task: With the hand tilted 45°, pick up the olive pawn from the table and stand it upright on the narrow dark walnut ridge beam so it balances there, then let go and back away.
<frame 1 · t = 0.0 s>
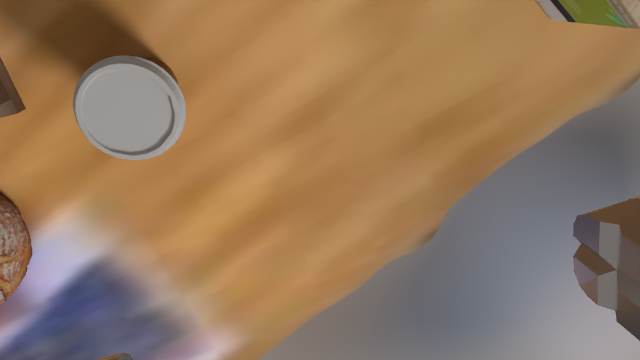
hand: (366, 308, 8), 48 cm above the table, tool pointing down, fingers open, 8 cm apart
disposable coffee cup: (149, 86, 52), on the table
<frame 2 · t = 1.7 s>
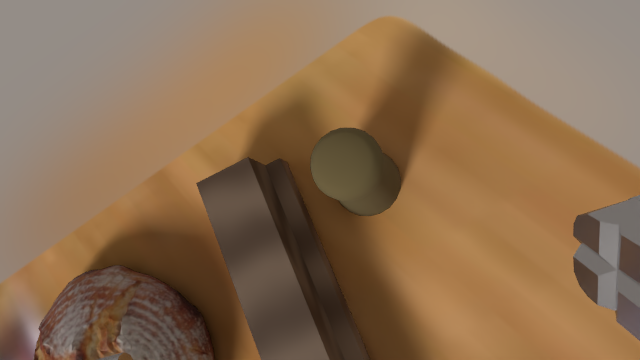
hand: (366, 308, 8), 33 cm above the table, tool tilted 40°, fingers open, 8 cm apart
ridge stand: (301, 311, 42), on the table
olive pawn: (367, 182, 42), on the table
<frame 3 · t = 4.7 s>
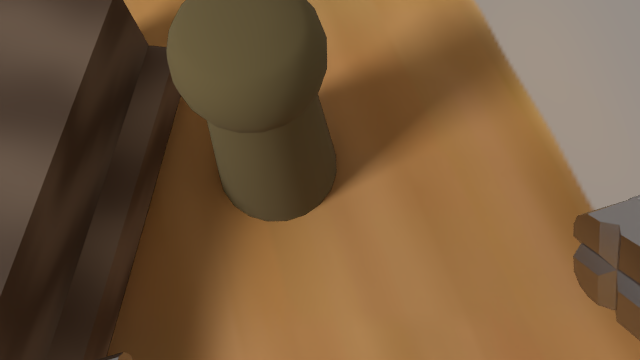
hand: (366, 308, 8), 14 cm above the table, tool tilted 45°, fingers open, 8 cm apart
ridge stand: (37, 295, 22), on the table
olive pawn: (278, 166, 24), on the table
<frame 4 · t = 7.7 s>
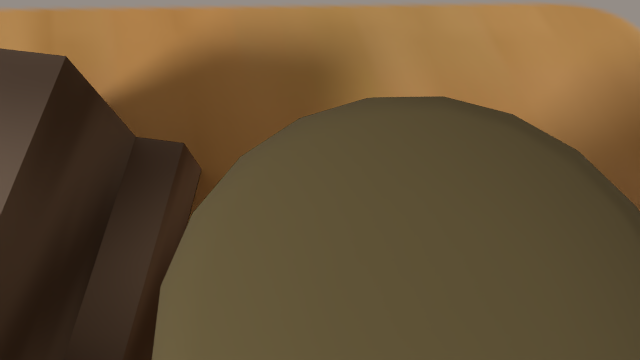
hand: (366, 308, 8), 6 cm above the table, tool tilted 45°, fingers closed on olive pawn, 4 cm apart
olive pawn: (359, 352, 14), on the table, touching gripper
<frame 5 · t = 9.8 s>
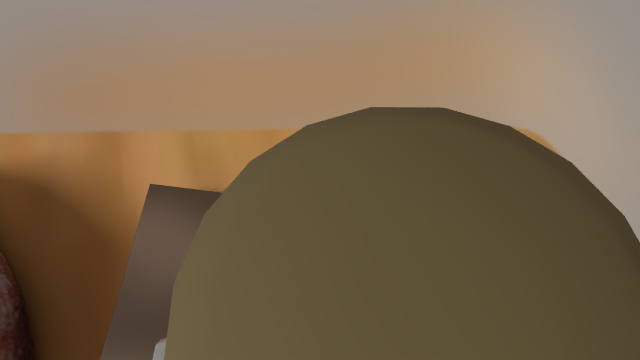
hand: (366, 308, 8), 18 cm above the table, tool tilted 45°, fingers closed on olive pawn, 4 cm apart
olive pawn: (359, 350, 14), point 12 cm above the table, touching gripper
when the fingers open (13 cm above the table, at t = 12.0 s): olive pawn stays where it is, resting on ridge stand.
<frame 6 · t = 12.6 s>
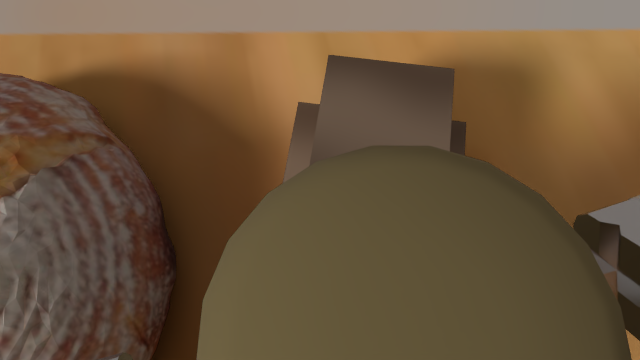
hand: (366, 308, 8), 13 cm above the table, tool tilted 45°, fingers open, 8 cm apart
bread: (11, 287, 22), on the table
olive pawn: (363, 355, 15), point 6 cm above the table, touching ridge stand
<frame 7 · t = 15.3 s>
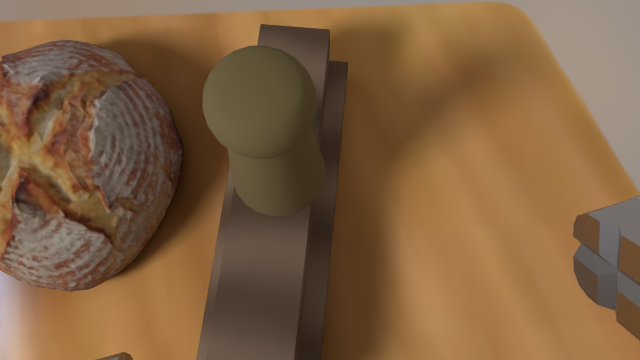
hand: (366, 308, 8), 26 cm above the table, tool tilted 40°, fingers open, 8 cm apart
bread: (84, 169, 37), on the table
ridge stand: (279, 222, 35), on the table
olive pawn: (279, 171, 31), point 6 cm above the table, touching ridge stand
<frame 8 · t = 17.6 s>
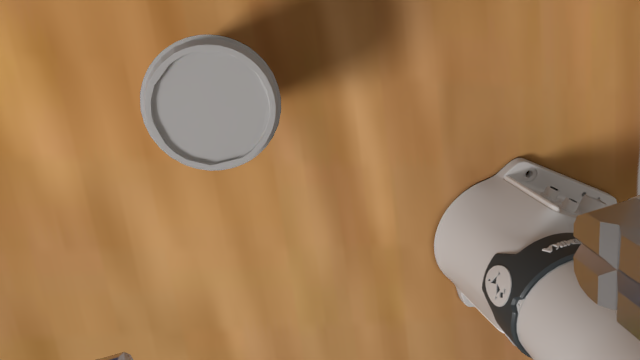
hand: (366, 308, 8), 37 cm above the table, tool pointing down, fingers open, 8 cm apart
disposable coffee cup: (215, 78, 43), on the table
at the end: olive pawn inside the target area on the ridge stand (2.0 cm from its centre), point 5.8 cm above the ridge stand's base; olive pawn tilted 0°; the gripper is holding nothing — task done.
